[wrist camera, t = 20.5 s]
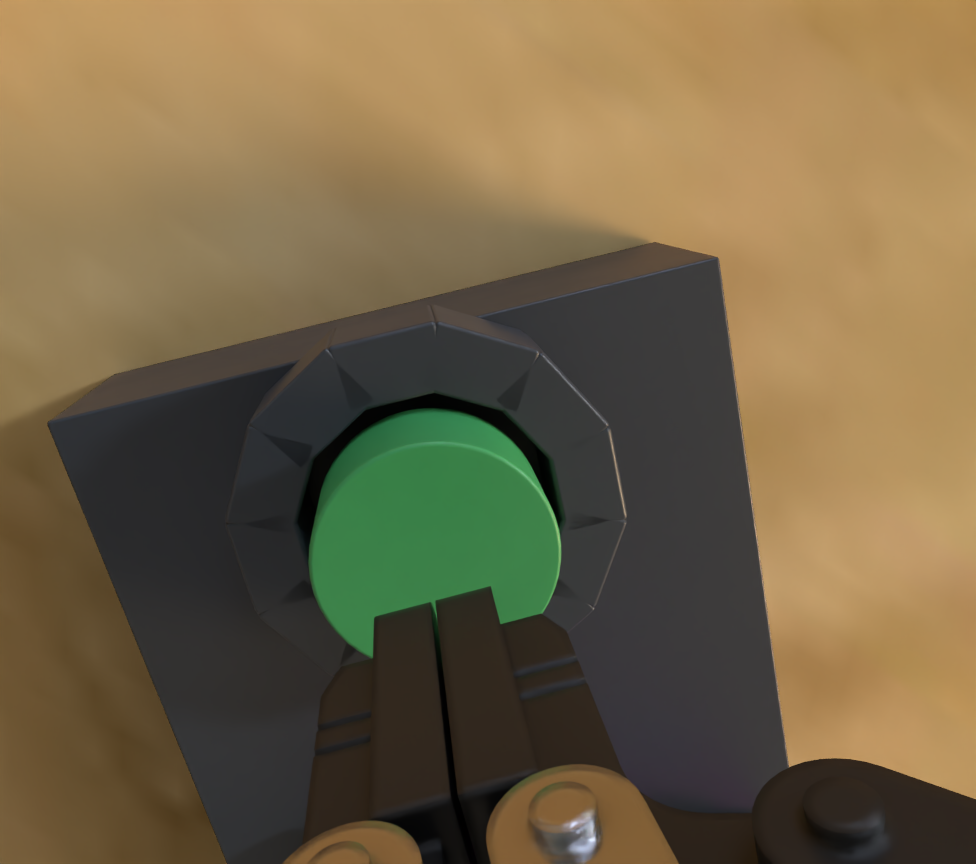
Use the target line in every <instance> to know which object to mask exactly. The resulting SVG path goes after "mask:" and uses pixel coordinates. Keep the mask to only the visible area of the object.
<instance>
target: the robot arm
mask: <svg viewBox="0 0 976 864" xmlns="http://www.w3.org/2000/svg"><path fill="white" fill-rule="evenodd" d="M435 604H436V613H437V617H436V613H435V610H434V607H433V605H432V603H431V602H428V603H425V604H421V605H417V606H413V607H409V608H406V609H402V610H398V611H394V612H390V613H387V614H383V615H379V616H375V618H374V634H373V658H372V659H368V660H364V661H360V662H357V663H353V664H349V665H345V666H341V667H340V669H339V670H338V672H337V673H336V675H335V676H334V678H333V679H332V681H331V682H330V684H329V685H328V687H327V688H326V689H325V691H324V692H323V694H322V695H321V701H320V708H319V716H318V724H317V726H318V731H317V732H316V740H315V748H314V751H315V757H313V764H312V772H311V780H310V787H309V795H308V803H307V811H306V819H305V827H304V835H303V843H302V846H301V847H299V848H298V849H297V850H296V851H295V852H294V853H292V854H291V855H290V856H289V857H288V858H287V859H286V860H285V861H284V862H283V863H282V864H976V799H973V798H970V797H967V796H964V795H961V794H959V793H956V792H953V791H950V790H947V789H944V788H941V787H939V786H936V785H933V784H930V783H927V782H924V781H921V780H919V779H916V778H913V777H910V776H907V775H904V774H901V773H899V772H896V771H893V770H890V769H887V768H884V767H881V766H878V765H874V764H871V763H867V762H863V761H857V760H851V759H835V758H834V759H819V760H813V761H808V762H803V763H800V764H797V765H794V766H791V767H789V768H787V769H785V770H783V771H781V772H779V773H778V774H777V775H775V776H774V777H773V778H771V779H770V780H769V781H768V782H767V783H766V784H765V785H764V786H763V787H762V788H761V790H760V792H759V793H758V795H757V797H756V799H755V802H754V805H753V808H752V813H698V812H690V811H685V810H679V809H676V808H673V807H669V806H666V805H664V804H661V803H659V802H657V801H655V800H653V799H651V798H649V797H648V796H646V795H645V794H643V793H642V792H640V791H639V790H638V789H637V787H636V786H635V785H634V784H632V783H631V782H630V781H629V779H628V778H627V777H626V775H625V774H624V772H623V770H622V768H621V766H620V763H619V761H618V758H617V756H616V753H615V751H614V748H613V746H612V743H611V741H610V738H609V736H608V733H607V731H606V728H605V726H604V723H603V721H602V718H601V716H600V713H599V711H598V708H597V706H596V703H595V701H594V698H593V696H592V693H591V691H590V688H589V686H588V683H587V682H586V679H585V676H584V673H583V671H582V668H581V666H580V663H579V661H578V660H577V656H576V653H575V651H574V648H573V646H572V644H571V641H570V639H569V636H568V634H567V631H566V630H565V629H563V628H562V627H560V626H559V625H557V624H556V623H555V622H553V621H552V620H550V619H549V618H547V617H546V616H544V615H543V614H537V615H533V616H530V617H526V618H522V619H518V620H515V621H511V622H507V623H503V624H500V620H499V616H498V613H497V609H496V605H495V601H494V597H493V593H492V589H491V586H489V587H485V588H481V589H477V590H474V591H470V592H466V593H462V594H458V595H454V596H451V597H447V598H443V599H439V600H436V601H435Z"/></svg>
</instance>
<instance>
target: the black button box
mask: <svg viewBox="0 0 976 864" xmlns="http://www.w3.org/2000/svg"><path fill="white" fill-rule="evenodd" d="M422 408H443V409H451V410H456V411H461V412H465V413H468V414H471V415H474V416H477V417H479V418H481V419H483V420H485V421H487V422H489V423H491V424H492V425H494V426H495V427H497V428H498V429H500V430H501V431H503V432H504V433H505V434H506V435H507V436H508V437H509V438H511V439H512V440H513V441H514V443H515V444H516V445H517V446H518V447H519V448H520V450H521V451H522V452H523V454H524V455H525V457H526V458H527V460H528V462H529V463H530V465H531V467H532V469H533V471H534V473H535V475H536V477H537V479H538V481H539V483H540V485H541V487H542V489H543V491H544V493H545V495H546V497H547V499H548V501H549V504H550V506H551V508H552V510H553V512H554V514H555V517H556V521H557V524H558V528H559V533H560V539H561V565H560V572H559V576H558V580H557V584H556V587H555V590H554V592H553V595H552V597H551V599H550V601H549V603H548V605H547V607H546V608H545V610H544V612H543V613H542V614H543V615H544V616H546V617H547V618H549V619H550V620H552V621H553V622H555V623H556V624H557V625H559V626H560V627H562V628H563V629H565V630H566V631H567V634H568V636H569V639H570V641H571V644H572V646H573V648H574V651H575V653H576V656H577V660H578V661H579V663H580V666H581V668H582V671H583V673H584V676H585V679H586V682H587V683H588V686H589V688H590V691H591V693H592V696H593V698H594V701H595V703H596V706H597V708H598V711H599V713H600V716H601V718H602V721H603V723H604V726H605V728H606V731H607V733H608V736H609V738H610V741H611V743H612V746H613V748H614V751H615V753H616V756H617V758H618V761H619V763H620V766H621V768H622V770H623V772H624V774H625V775H626V777H627V778H628V779H629V781H630V782H631V783H632V784H634V785H635V786H636V787H637V789H638V790H639V791H640V792H642V793H643V794H645V795H646V796H648V797H649V798H651V799H653V800H655V801H657V802H659V803H661V804H664V805H666V806H669V807H673V808H676V809H679V810H685V811H690V812H698V813H752V808H753V805H754V802H755V799H756V797H757V795H758V793H759V792H760V790H761V788H762V787H763V786H764V785H765V784H766V783H767V782H768V781H769V780H770V779H771V778H773V777H774V776H775V775H777V774H778V773H779V772H781V771H783V770H785V769H787V768H789V764H788V756H787V749H786V742H785V735H784V727H783V720H782V713H781V706H780V698H779V691H778V684H777V677H776V669H775V662H774V655H773V648H772V640H771V633H770V626H769V619H768V611H767V604H766V597H765V590H764V582H763V575H762V568H761V561H760V553H759V546H758V539H757V532H756V524H755V517H754V510H753V503H752V495H751V488H750V481H749V474H748V466H747V459H746V452H745V444H744V437H743V430H742V423H741V415H740V408H739V401H738V394H737V386H736V379H735V372H734V365H733V357H732V350H731V343H730V336H729V328H728V321H727V314H726V307H725V299H724V292H723V285H722V278H721V270H720V263H719V259H718V257H714V256H710V255H706V254H702V253H697V252H693V251H689V250H685V249H681V248H677V247H673V246H668V245H664V244H660V243H656V242H653V243H649V244H645V245H641V246H637V247H633V248H629V249H625V250H621V251H617V252H612V253H608V254H604V255H600V256H596V257H592V258H588V259H584V260H580V261H576V262H572V263H567V264H563V265H559V266H555V267H551V268H547V269H543V270H539V271H535V272H531V273H527V274H522V275H518V276H514V277H510V278H506V279H502V280H498V281H494V282H490V283H486V284H482V285H478V286H473V287H469V288H465V289H461V290H457V291H453V292H449V293H445V294H441V295H437V296H433V297H428V298H424V299H420V300H416V301H412V302H408V303H404V304H400V305H396V306H392V307H388V308H383V309H379V310H375V311H371V312H367V313H363V314H359V315H355V316H351V317H347V318H343V319H339V320H334V321H330V322H326V323H322V324H318V325H314V326H310V327H306V328H302V329H298V330H294V331H289V332H285V333H281V334H277V335H273V336H269V337H265V338H261V339H257V340H253V341H249V342H244V343H240V344H236V345H232V346H228V347H224V348H220V349H216V350H212V351H208V352H204V353H199V354H195V355H191V356H187V357H183V358H179V359H175V360H171V361H167V362H163V363H159V364H155V365H150V366H146V367H142V368H138V369H134V370H130V371H126V372H122V373H118V374H114V375H113V376H111V377H110V378H108V379H107V380H106V381H104V382H103V383H102V384H100V385H99V386H97V387H96V388H95V389H93V390H92V391H90V392H89V393H88V394H86V395H85V396H83V397H82V398H81V399H79V400H78V401H77V402H75V403H74V404H72V405H71V406H70V407H68V408H67V409H65V410H64V411H63V412H61V413H60V414H58V415H57V416H56V417H54V418H53V419H52V420H50V421H49V422H48V423H47V424H48V427H49V430H50V432H51V435H52V437H53V440H54V442H55V444H56V447H57V449H58V452H59V454H60V457H61V459H62V462H63V464H64V466H65V469H66V471H67V474H68V476H69V479H70V481H71V484H72V486H73V488H74V491H75V493H76V496H77V498H78V501H79V503H80V505H81V508H82V510H83V513H84V515H85V518H86V520H87V523H88V525H89V527H90V530H91V532H92V535H93V537H94V540H95V542H96V544H97V547H98V549H99V552H100V554H101V557H102V559H103V562H104V564H105V566H106V569H107V571H108V574H109V576H110V579H111V581H112V584H113V586H114V588H115V591H116V593H117V596H118V598H119V601H120V603H121V605H122V608H123V610H124V613H125V615H126V618H127V620H128V623H129V625H130V627H131V630H132V632H133V635H134V637H135V640H136V642H137V645H138V647H139V649H140V652H141V654H142V657H143V659H144V662H145V664H146V666H147V669H148V671H149V674H150V676H151V679H152V681H153V684H154V686H155V688H156V691H157V693H158V696H159V698H160V701H161V703H162V706H163V708H164V710H165V713H166V715H167V718H168V720H169V723H170V725H171V727H172V730H173V732H174V735H175V737H176V740H177V742H178V745H179V747H180V749H181V752H182V754H183V757H184V759H185V762H186V764H187V767H188V769H189V771H190V774H191V776H192V779H193V781H194V784H195V786H196V788H197V791H198V793H199V796H200V798H201V801H202V803H203V806H204V808H205V810H206V813H207V815H208V818H209V820H210V823H211V825H212V828H213V830H214V832H215V835H216V837H217V840H218V842H219V845H220V847H221V849H222V852H223V854H224V857H225V859H226V862H227V864H282V863H283V862H284V861H285V860H286V859H287V858H288V857H289V856H290V855H291V854H292V853H294V852H295V851H296V850H297V849H298V848H299V847H301V846H302V843H303V835H304V827H305V819H306V811H307V803H308V795H309V787H310V780H311V772H312V764H313V757H315V751H314V748H315V740H316V732H317V731H318V726H317V724H318V716H319V708H320V701H321V695H322V694H323V692H324V691H325V689H326V688H327V687H328V685H329V684H330V682H331V681H332V679H333V678H334V676H335V675H336V673H337V672H338V670H339V669H340V667H341V666H345V665H349V664H353V663H357V662H360V661H364V660H368V659H371V658H369V657H368V656H366V655H364V654H362V653H360V652H359V651H358V650H356V649H355V648H354V647H352V646H351V645H350V644H348V643H347V642H346V641H345V640H344V639H343V638H342V637H341V636H340V635H339V634H338V633H337V632H336V631H335V630H334V628H333V627H332V626H331V625H330V623H329V622H328V621H327V619H326V618H325V616H324V614H323V613H322V611H321V609H320V607H319V605H318V603H317V600H316V598H315V595H314V593H313V589H312V585H311V581H310V575H309V565H308V559H309V545H310V540H311V535H312V530H313V525H314V521H315V516H316V511H317V507H318V502H319V497H320V493H321V488H322V485H323V482H324V480H325V477H326V474H327V472H328V470H329V468H330V467H331V465H332V463H333V461H334V460H335V458H336V457H337V456H338V454H339V453H340V451H341V450H342V449H343V448H344V447H345V446H346V445H347V444H348V442H349V441H350V440H351V439H353V438H354V437H355V436H356V435H357V434H359V433H360V432H361V431H362V430H364V429H365V428H367V427H369V426H370V425H372V424H373V423H375V422H377V421H379V420H381V419H383V418H386V417H388V416H390V415H394V414H397V413H400V412H403V411H408V410H414V409H422Z"/></svg>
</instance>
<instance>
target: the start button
mask: <svg viewBox="0 0 976 864" xmlns="http://www.w3.org/2000/svg"><path fill="white" fill-rule="evenodd" d="M308 565H309V575H310V581H311V585H312V589H313V593H314V595H315V598H316V600H317V603H318V605H319V607H320V609H321V611H322V613H323V614H324V616H325V618H326V619H327V621H328V622H329V623H330V625H331V626H332V627H333V628H334V630H335V631H336V632H337V633H338V634H339V635H340V636H341V637H342V638H343V639H344V640H345V641H346V642H347V643H348V644H350V645H351V646H352V647H354V648H355V649H356V650H358V651H359V652H360V653H362V654H364V655H366V656H368V657H369V658H371V659H372V658H373V634H374V618H375V616H379V615H383V614H387V613H390V612H394V611H398V610H402V609H406V608H409V607H413V606H417V605H421V604H425V603H428V602H431V603H432V605H433V607H434V610H435V613H436V604H435V601H436V600H439V599H443V598H447V597H451V596H454V595H458V594H462V593H466V592H470V591H474V590H477V589H481V588H485V587H489V586H491V589H492V593H493V597H494V601H495V605H496V609H497V613H498V616H499V620H500V624H503V623H507V622H511V621H515V620H518V619H522V618H526V617H530V616H533V615H537V614H542V613H543V612H544V610H545V608H546V607H547V605H548V603H549V601H550V599H551V597H552V595H553V592H554V590H555V587H556V584H557V580H558V576H559V572H560V565H561V539H560V533H559V528H558V524H557V521H556V517H555V514H554V512H553V510H552V508H551V506H550V504H549V501H548V499H547V497H546V495H545V493H544V491H543V489H542V487H541V485H540V483H539V481H538V479H537V477H536V475H535V473H534V471H533V469H532V467H531V465H530V463H529V462H528V460H527V458H526V457H525V455H524V454H523V452H522V451H521V450H520V448H519V447H518V446H517V445H516V444H515V443H514V441H513V440H512V439H511V438H509V437H508V436H507V435H506V434H505V433H504V432H503V431H501V430H500V429H498V428H497V427H495V426H494V425H492V424H491V423H489V422H487V421H485V420H483V419H481V418H479V417H477V416H474V415H471V414H468V413H465V412H461V411H456V410H451V409H443V408H422V409H414V410H408V411H403V412H400V413H397V414H394V415H390V416H388V417H386V418H383V419H381V420H379V421H377V422H375V423H373V424H372V425H370V426H369V427H367V428H365V429H364V430H362V431H361V432H360V433H359V434H357V435H356V436H355V437H354V438H353V439H351V440H350V441H349V442H348V444H347V445H346V446H345V447H344V448H343V449H342V450H341V451H340V453H339V454H338V456H337V457H336V458H335V460H334V461H333V463H332V465H331V467H330V468H329V470H328V472H327V474H326V477H325V480H324V482H323V485H322V488H321V493H320V497H319V502H318V507H317V511H316V516H315V521H314V525H313V530H312V535H311V540H310V545H309V559H308ZM436 617H437V613H436Z"/></svg>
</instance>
